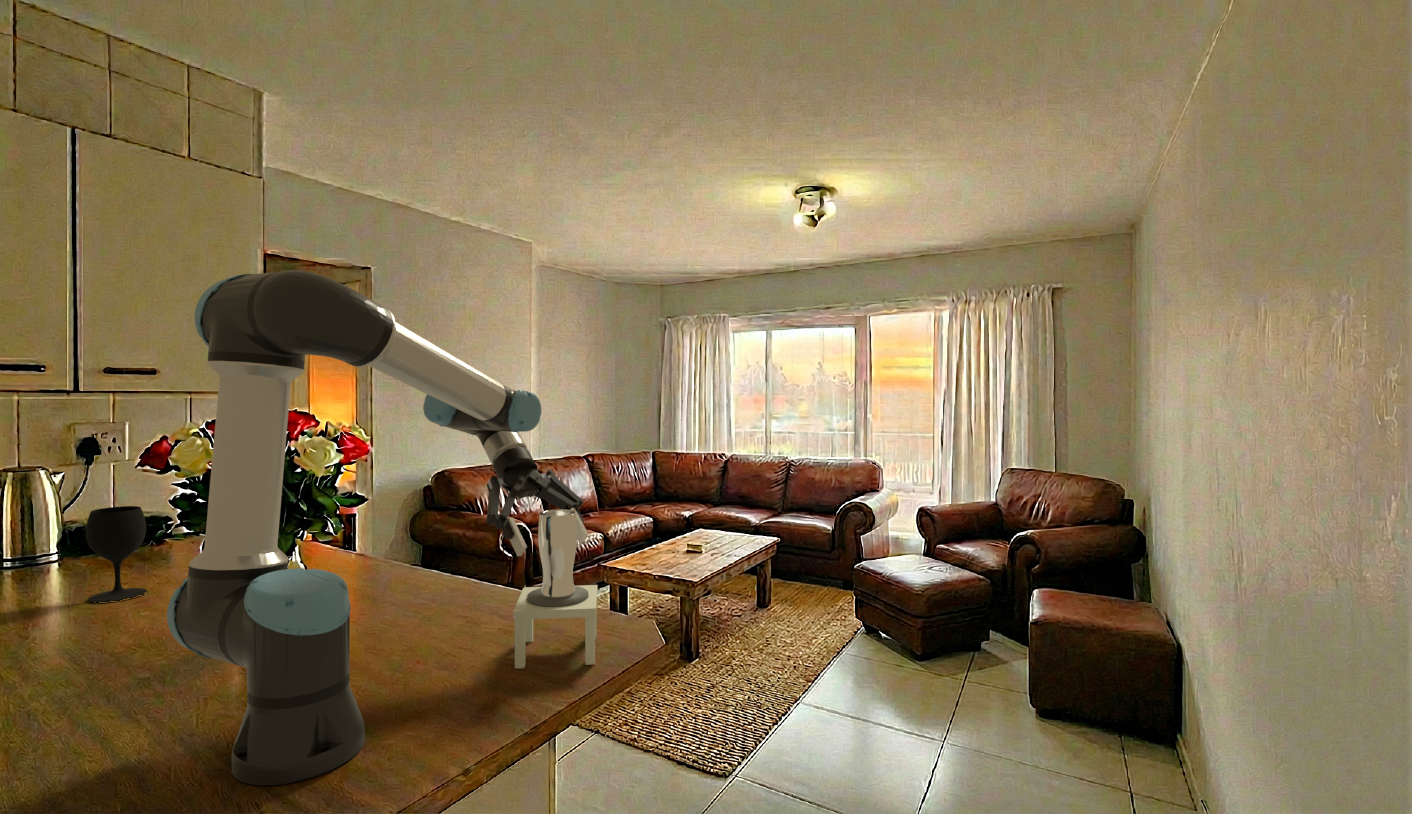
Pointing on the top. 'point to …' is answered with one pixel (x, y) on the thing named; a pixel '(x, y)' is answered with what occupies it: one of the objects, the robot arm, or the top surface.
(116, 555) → the wine glass
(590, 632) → the stool
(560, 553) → the beer glass
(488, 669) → the top surface
